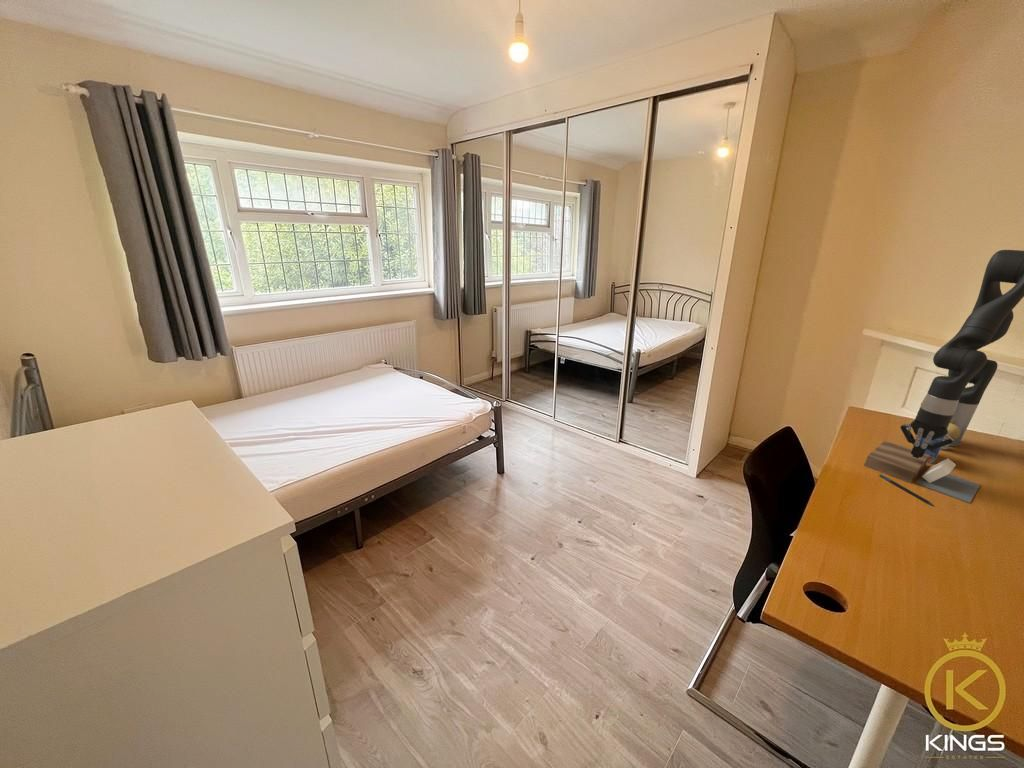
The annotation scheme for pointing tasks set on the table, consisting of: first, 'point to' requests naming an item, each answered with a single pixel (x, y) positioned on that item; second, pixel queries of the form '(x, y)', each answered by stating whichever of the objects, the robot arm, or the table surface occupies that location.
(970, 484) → the mat
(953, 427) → the light bulb
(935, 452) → the ink cartridge box
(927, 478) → the cream rectangular block
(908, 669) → the table surface
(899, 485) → the pen
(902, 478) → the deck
